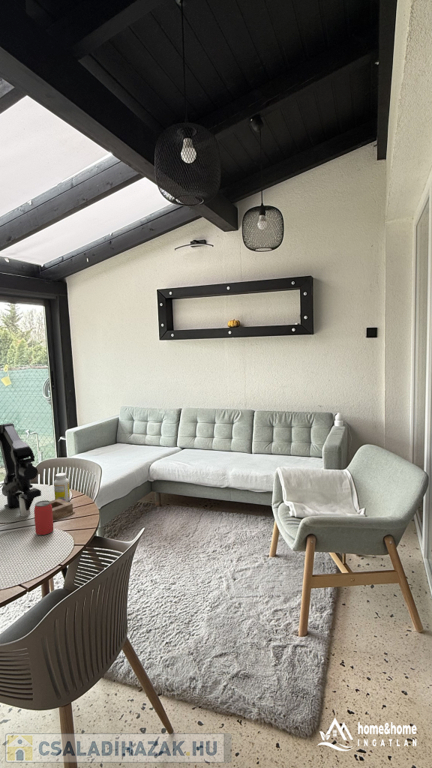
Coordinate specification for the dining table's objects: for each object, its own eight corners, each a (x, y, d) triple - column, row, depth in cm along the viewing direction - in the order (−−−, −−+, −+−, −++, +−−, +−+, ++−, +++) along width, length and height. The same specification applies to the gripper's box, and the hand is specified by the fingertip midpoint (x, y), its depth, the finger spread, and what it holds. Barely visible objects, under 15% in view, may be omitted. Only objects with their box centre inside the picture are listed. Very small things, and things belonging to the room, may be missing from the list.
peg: (18, 515, 181) (17, 495, 180) (27, 512, 184) (26, 492, 183) (23, 517, 179) (21, 497, 178) (32, 514, 182) (30, 494, 181)
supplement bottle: (64, 496, 202) (63, 471, 200) (72, 499, 198) (71, 473, 196) (52, 501, 196) (50, 475, 195) (60, 504, 192) (58, 477, 191)
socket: (34, 515, 180) (33, 506, 180) (59, 506, 190) (59, 497, 189) (49, 522, 173) (48, 512, 173) (74, 512, 182) (74, 503, 182)
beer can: (47, 536, 160) (45, 506, 159) (32, 535, 162) (30, 505, 160) (56, 529, 167) (55, 500, 165) (42, 527, 168) (40, 499, 167)
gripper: (-7, 475, 179) (-4, 510, 181) (14, 483, 167) (17, 520, 169) (19, 468, 188) (21, 502, 189) (40, 476, 176) (43, 511, 178)
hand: (25, 509), depth 181 cm, fingers closed on peg, 4 cm apart
